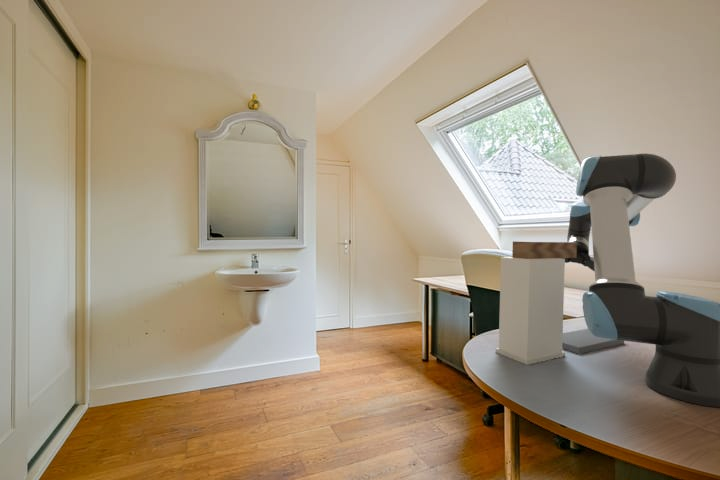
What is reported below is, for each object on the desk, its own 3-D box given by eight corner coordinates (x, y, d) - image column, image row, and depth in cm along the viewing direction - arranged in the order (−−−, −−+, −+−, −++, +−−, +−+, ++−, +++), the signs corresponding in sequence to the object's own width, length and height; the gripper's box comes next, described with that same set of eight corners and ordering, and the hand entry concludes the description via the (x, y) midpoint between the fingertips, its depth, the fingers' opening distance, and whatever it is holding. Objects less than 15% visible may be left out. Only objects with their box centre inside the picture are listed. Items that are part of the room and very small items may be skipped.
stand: (532, 345, 113) (534, 256, 112) (565, 356, 103) (567, 258, 102) (495, 352, 105) (498, 257, 105) (527, 364, 95) (530, 259, 94)
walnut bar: (561, 256, 114) (561, 242, 113) (576, 257, 109) (576, 242, 109) (512, 257, 103) (512, 241, 103) (526, 258, 98) (527, 241, 98)
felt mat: (587, 333, 127) (587, 328, 127) (624, 343, 117) (624, 337, 117) (543, 342, 116) (543, 336, 116) (578, 353, 105) (579, 347, 105)
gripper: (613, 264, 128) (616, 295, 112) (540, 251, 140) (534, 277, 124) (618, 247, 124) (622, 276, 108) (543, 235, 136) (537, 260, 121)
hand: (575, 277), depth 116 cm, fingers open, 13 cm apart
